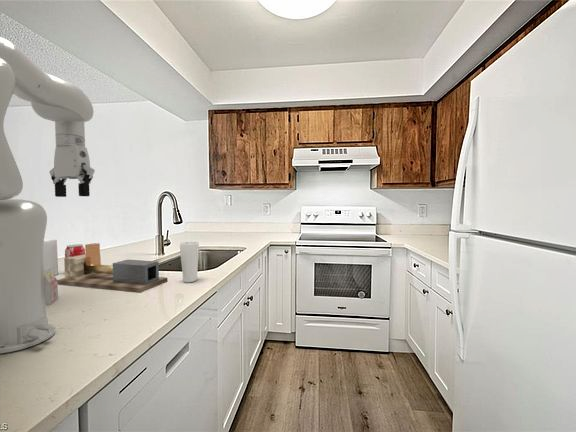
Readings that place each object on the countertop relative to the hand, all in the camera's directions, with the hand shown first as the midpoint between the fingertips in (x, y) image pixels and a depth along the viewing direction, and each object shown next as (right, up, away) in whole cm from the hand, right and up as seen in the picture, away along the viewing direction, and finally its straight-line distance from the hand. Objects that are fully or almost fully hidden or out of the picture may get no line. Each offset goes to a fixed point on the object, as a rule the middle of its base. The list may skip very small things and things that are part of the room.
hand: (72, 196), depth 93 cm
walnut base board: (+2, -32, +17) cm, 36 cm away
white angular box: (-5, -33, -3) cm, 34 cm away
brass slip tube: (0, -28, +18) cm, 33 cm away
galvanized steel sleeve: (+13, -30, +14) cm, 36 cm away
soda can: (-22, -31, +32) cm, 50 cm away
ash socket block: (-11, -30, +21) cm, 38 cm away
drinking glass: (+31, -32, +20) cm, 49 cm away
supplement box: (-33, -31, +27) cm, 53 cm away
